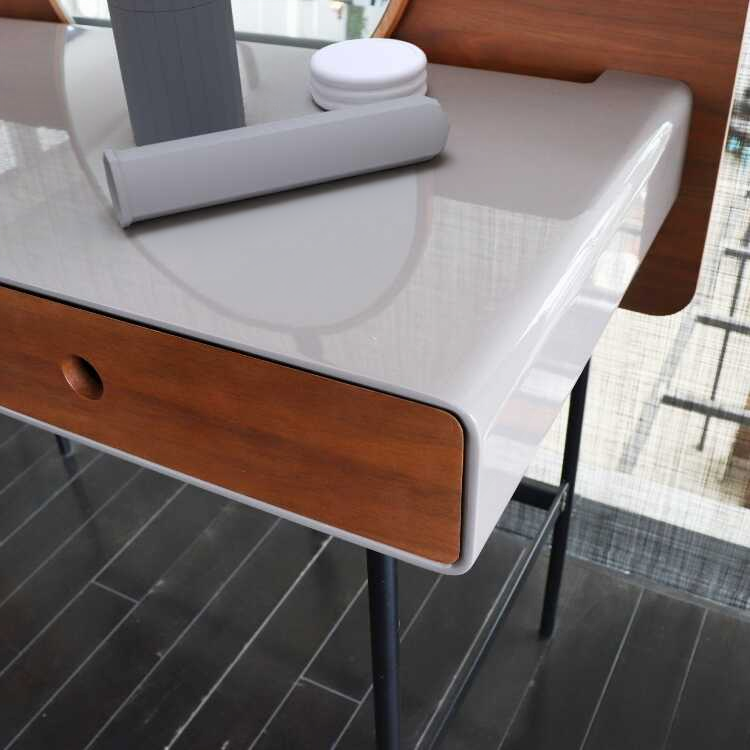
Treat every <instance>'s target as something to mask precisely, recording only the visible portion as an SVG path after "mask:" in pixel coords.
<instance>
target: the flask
mask: <svg viewBox="0 0 750 750" xmlns="http://www.w3.org/2000/svg"><path fill="white" fill-rule="evenodd" d="M106 5H107V8H108V9H107V10H108V15H109V19H110V24H111V29H112V34H113V39H114V44H115V50H116V55H117V60H118V65H119V70H120V75H121V81H122V85H123V86H122V87H123V92H124V96H125V101H126V102H125V103H126V106H127V111H128V117H129V121H130V122H129V123H130V126H131V132H132V134H133V138H134V142H135V144H136V146H137V147H141V146H146V145H151V144H157V143H162V142H167V141H173V140H178V139H183V138H189V137H194V136H199V135H205V134H210V133H215V132H221V131H226V130H232V129H237V128H242V127H247V126H246V113H245V105H244V97H243V89H242V80H241V72H240V64H239V57H238V56H239V55H238V48H237V40H236V39H237V38H236V30H235V22H234V13H233V5H232V0H106Z"/></svg>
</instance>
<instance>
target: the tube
mask: <svg viewBox="0 0 750 750" xmlns="http://www.w3.org/2000/svg"><path fill="white" fill-rule="evenodd" d="M450 130H451V124H450V122H449V119H448V117H447V115H446V114H445V112H444V110H443V108H442V106H441V104H440V102H439V101H438V99H436V98H432V97H429V96H426V95H425V96H423V95H420V94H419V95H414V96H408V97H403V98H398V99H392V100H387V101H382V102H376V103H371V104H365V105H360V106H355V107H349V108H344V109H339V110H333V111H329V110H327V111H323V112H317V113H313V114H307V115H302V116H298V117H291V118H286V119H280V120H276V121H275V120H274V121H269V122H264V123H259V124H253V125H248V126H246V127H242V128H237V129H232V130H226V131H221V132H215V133H210V134H205V135H199V136H194V137H189V138H183V139H178V140H173V141H167V142H162V143H157V144H151V145H146V146H141V147H139V146H136V147H130V148H125V149H119V150H114V149H113V148H111V147H110V148H105V149H103V150H102V158H101V159H102V164H103V168H104V173H105V174H104V175H105V178H106V183H107V188H108V192H109V195H110V198H111V199H110V200H111V203H112V206H113V209H114V213H115V216H116V218H117V220H118V223H119V225H120V227H121V229H125V228H129V227H130V226H131V224H133V223H136V222H140V221H146V220H151V219H156V218H160V217H165V216H169V215H174V214H178V213H183V212H188V211H189V212H190V211H193V210H198V209H205V208H207V207H208V208H209V207H213V206H217V205H218V206H219V205H221V204H222V205H223V204H228V203H231V202H236V201H241V200H246V199H251V198H255V197H256V198H257V197H261V196H265V195H270V194H274V193H280V192H284V191H285V192H286V191H290V190H294V189H299V188H303V187H308V186H313V185H318V184H323V183H328V182H333V181H337V180H342V179H347V178H352V177H355V176H361V175H365V174H370V173H376V172H379V171H385V170H390V169H394V168H399V167H404V166H408V165H413V164H418V163H423V162H428V161H430V160H432V159H433V158H435V156H437V155H438V154H439V153H440V152H442V151H443V150H444V149H445V147H446V145H447V142H448V138H449V134H450Z"/></svg>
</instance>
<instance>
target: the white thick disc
mask: <svg viewBox="0 0 750 750" xmlns="http://www.w3.org/2000/svg"><path fill="white" fill-rule="evenodd" d="M427 64H428V59H427V55H426V53H425V52H424V51H423V50H422V49H421V48H420V47H418V46H417V45H415V44H412V43H410V42H407V41H404V40H399V39H393V38H383V37H382V38H380V37H368V38H367V37H366V38H356V39H355V38H354V39H348V40H343V41H339V42H338V41H337V42H335V43H332V44H329V45H326V46H324V47H322V48H320V49H319V50H317V51H315V53H314V54H313V55H312V56H311V58H310V59H309V63H308V69H309V72H310V76H309V82H310V84H311V89H310V94H311V96H312V100H313V102H315V103H316V104H317V105H318V106H319V107H321V108H322V109H324V110H326V111H333V110H339V109H344V108H349V107H355V106H360V105H365V104H371V103H376V102H382V101H387V100H392V99H398V98H403V97H408V96H414V95H419V94H420V95H423V96H426V94H427V92H428V83H427V77H428V72H427V68H426V67H427Z"/></svg>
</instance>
